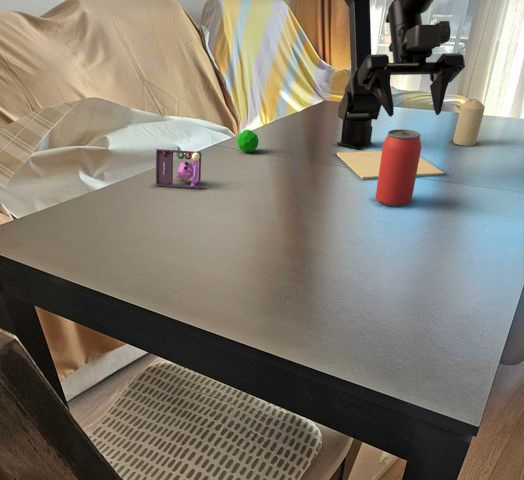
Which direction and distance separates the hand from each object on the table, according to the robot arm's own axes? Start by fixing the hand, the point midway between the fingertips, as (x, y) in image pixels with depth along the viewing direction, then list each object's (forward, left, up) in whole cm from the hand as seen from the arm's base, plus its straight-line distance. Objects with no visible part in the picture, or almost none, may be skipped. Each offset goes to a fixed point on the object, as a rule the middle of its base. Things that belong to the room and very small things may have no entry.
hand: (415, 114), depth 93 cm
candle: (-3, +40, -13) cm, 42 cm away
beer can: (+3, -9, -13) cm, 16 cm away
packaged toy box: (-34, -28, -13) cm, 46 cm away
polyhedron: (-39, -2, -13) cm, 42 cm away
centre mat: (-9, +11, -13) cm, 20 cm away
